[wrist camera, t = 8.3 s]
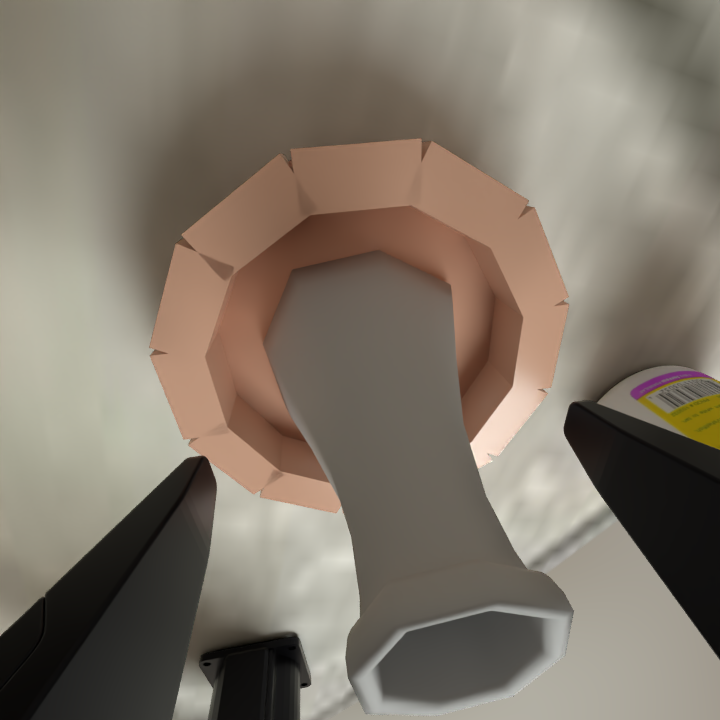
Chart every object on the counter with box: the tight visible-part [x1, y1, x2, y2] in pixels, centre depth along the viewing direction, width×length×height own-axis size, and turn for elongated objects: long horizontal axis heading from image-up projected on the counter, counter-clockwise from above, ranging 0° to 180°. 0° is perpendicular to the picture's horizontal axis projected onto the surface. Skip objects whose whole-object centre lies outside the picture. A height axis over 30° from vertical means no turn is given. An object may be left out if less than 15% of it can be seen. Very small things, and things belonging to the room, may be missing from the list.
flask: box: [263, 250, 574, 716], centre depth 9 cm, size 7×7×10 cm
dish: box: [149, 138, 569, 513], centre depth 13 cm, size 13×13×3 cm
